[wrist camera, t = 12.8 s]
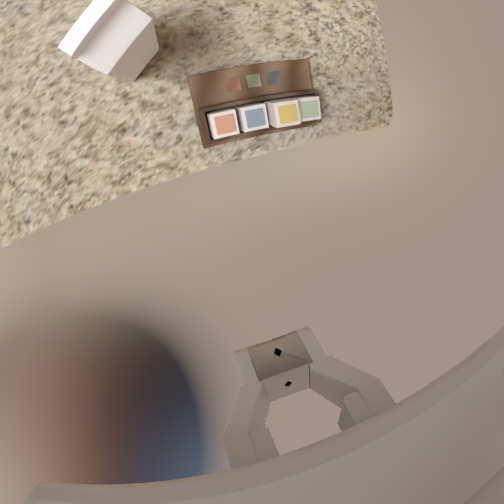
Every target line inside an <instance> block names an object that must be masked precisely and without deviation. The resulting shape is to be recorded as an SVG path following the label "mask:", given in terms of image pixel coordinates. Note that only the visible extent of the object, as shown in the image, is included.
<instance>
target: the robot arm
mask: <svg viewBox="0 0 504 504" xmlns="http://www.w3.org/2000/svg"><path fill="white" fill-rule="evenodd" d="M234 353H235V357H236V360H237V364H238V367H239V370H240V373H241V376H242V380H243V383H244V386H243V387H241V388H240V391H239V394H238V397H237V400H236V403H235V405H234V408H233V411H232V413H231V416H230V419H229V422H228V424H227V427H226V430H225V432H224V435H223V441H224V445H225V448H226V452H227V456H228V459H229V463H230V467H231V469H230V470H225V471H221V472H217V473H212V474H207V475H201V476H195V477H190V478H183V479H176V480H169V481H160V482H150V483H138V484H120V485H83V484H64V483H54V482H39V483H38V484H37V485H36V486H35V487H34V488H33V489H32V491H31V492H30V494H29V495H28V497H27V498H26V500H25V502H24V504H504V326H503V327H502V328H501V329H499V330H498V331H497V332H496V333H495V334H494V335H493V336H492V337H490V338H489V339H488V340H487V341H486V342H485V343H483V344H482V345H481V346H480V347H479V348H477V349H476V350H475V351H474V352H472V353H471V354H470V355H469V356H468V357H466V358H465V359H463V360H462V361H461V362H459V363H458V364H457V365H455V366H454V367H453V368H451V369H450V370H448V371H447V372H446V373H444V374H443V375H441V376H440V377H438V378H437V379H436V380H434V381H433V382H431V383H430V384H428V385H426V386H425V387H423V388H422V389H421V390H419V391H417V392H415V393H414V394H413V395H411V396H409V397H407V398H406V399H404V400H402V401H400V402H399V403H397V404H396V403H395V402H394V400H393V399H392V397H391V395H390V394H389V393H388V391H387V389H386V388H385V386H384V385H383V383H382V382H381V381H380V379H379V378H377V377H374V376H372V375H370V374H368V373H366V372H364V371H361V370H359V369H357V368H355V367H353V366H351V365H349V364H347V363H345V362H342V361H340V360H338V359H336V358H334V357H332V356H327V357H326V355H325V353H324V351H323V350H322V348H321V346H320V345H319V343H318V341H317V339H316V338H315V336H314V334H313V333H312V331H311V329H310V328H309V327H305V328H302V329H299V330H297V331H293V332H291V333H288V334H285V335H282V336H280V337H277V338H274V339H272V340H269V341H266V342H263V343H260V344H256V345H253V346H249V347H246V348H243V349H239V350H236V351H234ZM307 388H310V389H312V390H313V391H315V392H317V393H318V394H320V395H321V396H323V397H324V398H326V399H327V400H329V401H330V402H332V403H334V404H335V405H337V406H338V407H340V408H341V412H340V417H339V421H338V425H339V427H340V429H341V431H342V432H340V433H338V434H335V435H333V436H330V437H328V438H326V439H323V440H321V441H318V442H316V443H313V444H311V445H308V446H306V447H303V448H300V449H297V450H294V451H291V452H289V453H286V454H283V455H280V456H279V453H278V451H277V448H276V446H275V443H274V440H273V438H272V435H271V433H270V430H269V429H268V428H265V427H264V426H265V422H266V418H267V414H268V410H269V405H270V402H271V401H274V400H277V399H279V398H282V397H285V396H287V395H290V394H293V393H296V392H299V391H302V390H305V389H307Z"/></svg>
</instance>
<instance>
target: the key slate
mask: <svg viewBox="0 0 504 504" xmlns="http://www.w3.org/2000/svg"><path fill="white" fill-rule="evenodd" d="M234 109H235V112H236V117H237V122H238V127H239V129H240V130H241V131H243V132H249V131H254V130H259V129H264V128H269V124H268V117H267V111H266V105H265V103H259V102H255V103H249V104H244V105H239V106H234Z"/></svg>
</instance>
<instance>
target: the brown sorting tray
mask: <svg viewBox="0 0 504 504" xmlns="http://www.w3.org/2000/svg"><path fill="white" fill-rule="evenodd" d="M187 79H188V83H189V88H190V92H191V97H192V101H193V106H194V110H195V114H196V119H197V123H198V128H199V132H200V136H201V141H202V145H203V147H204V148H207V147H211V146H215V145H219V144H223V143H227V142H231V141H236V140H240V139H244V138H249V137H254V136H258V135H263V134H268V133H273V132H278V131H284V130H289V129H295V128H301V127H307V126H313V125H316V123H318V122H321V119H317V120H310V121H304V122H301V124H298V125H292V126H286V127H280V128H275V127H273V126H270V125H269V128H264V129H259V130H254V131H249V132H243V131H241V130H240V129H239V132H240V134H236V135H231V136H227V137H223V138H219V139H215V140H214V139H213V137H212V136H211V135H210V131H209V126H208V122H207V117H206V113H207V112H211V111H216V110H220V109H225V108H233V109H234V106H239V105H244V104H249V103H255V102H259V103H264V102H266V101H272V100H278V99H285V98H287V97H294V96H302V95H312V96H318V90H316V89H312V84H311V77H310V70H309V64H308V59H302V60H288V61H278V62H269V63H260V64H253V65H246V66H240V67H234V68H228V69H222V70H217V71H212V72H207V73H203V74H198V75H194V76H190V77H187Z"/></svg>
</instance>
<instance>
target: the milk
mask: <svg viewBox="0 0 504 504" xmlns="http://www.w3.org/2000/svg"><path fill="white" fill-rule="evenodd" d="M58 48H59V49H61V50H63V51H64V52H66V53H67V54H69V55H71V58H75V59H77V60H79V61H81V62H83V63H85V64H87V65H89V66H91V67H93V68H95V69H97V70H98V71H100V72H102V73H104V74H106V75H109V76H114V77H118V78H122V79H126V80H129V81H133V82H134V81H135V79H136V78H137V77H138V75H139V74H140V73H141V72H142V70H143V69H144V68H145V66H146V65H147V64H148V63H149V61H150V60H151V59H152V58H153V56H154V55H155V54H156V53H157V52H158V50H159V45H158V41H157V37H156V32H155V28H154V24H153V19H152V18H151V17H149V16H148V15H147V14H145V13H144V12H143V11H141V10H140V9H138V8H137V7H135V6H134V5H132V4H131V3H130V2H128V1H127V0H93V2H92V3H91V4H90V5H89V6H88V7H87V9H86V10H85V11H84V12H83V14H82V15H81V16H80V17H79V19H78V20H77V21H76V22H75V24H74V25H73V26H72V28H71V29H70V30H69V32H68V33H67V35H66V36H65V37H64V39H63V40H62V42H61V43H60V45H59V46H58Z"/></svg>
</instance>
